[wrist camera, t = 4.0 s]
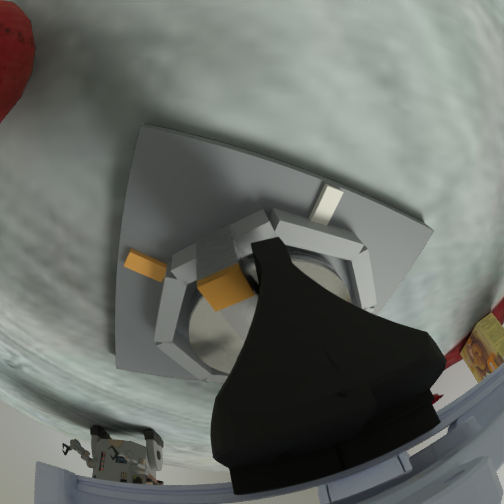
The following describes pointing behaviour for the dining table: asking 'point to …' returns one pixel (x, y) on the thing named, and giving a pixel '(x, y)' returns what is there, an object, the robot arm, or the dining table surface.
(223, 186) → the board
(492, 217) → the dining table surface
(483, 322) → the candy box
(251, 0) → the dining table surface
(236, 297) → the dial
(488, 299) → the dining table surface
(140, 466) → the figurine
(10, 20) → the onion
